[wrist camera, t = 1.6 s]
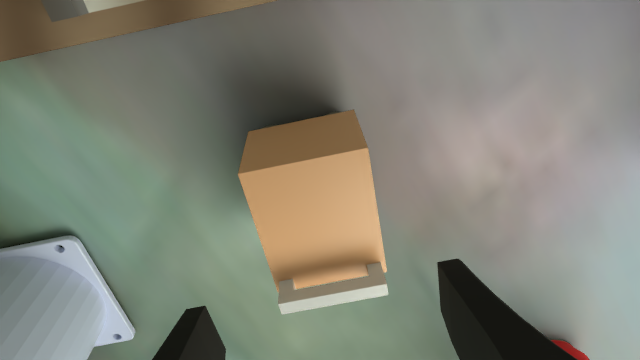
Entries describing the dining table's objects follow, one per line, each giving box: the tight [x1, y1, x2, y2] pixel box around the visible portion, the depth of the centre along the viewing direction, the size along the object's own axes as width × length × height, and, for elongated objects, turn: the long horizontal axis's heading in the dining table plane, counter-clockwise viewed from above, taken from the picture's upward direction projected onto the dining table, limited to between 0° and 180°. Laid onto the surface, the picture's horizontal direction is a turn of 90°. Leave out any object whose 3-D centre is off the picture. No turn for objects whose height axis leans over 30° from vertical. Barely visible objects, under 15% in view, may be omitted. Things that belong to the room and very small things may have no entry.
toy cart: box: [238, 110, 388, 314], centre depth 18 cm, size 6×5×6 cm
